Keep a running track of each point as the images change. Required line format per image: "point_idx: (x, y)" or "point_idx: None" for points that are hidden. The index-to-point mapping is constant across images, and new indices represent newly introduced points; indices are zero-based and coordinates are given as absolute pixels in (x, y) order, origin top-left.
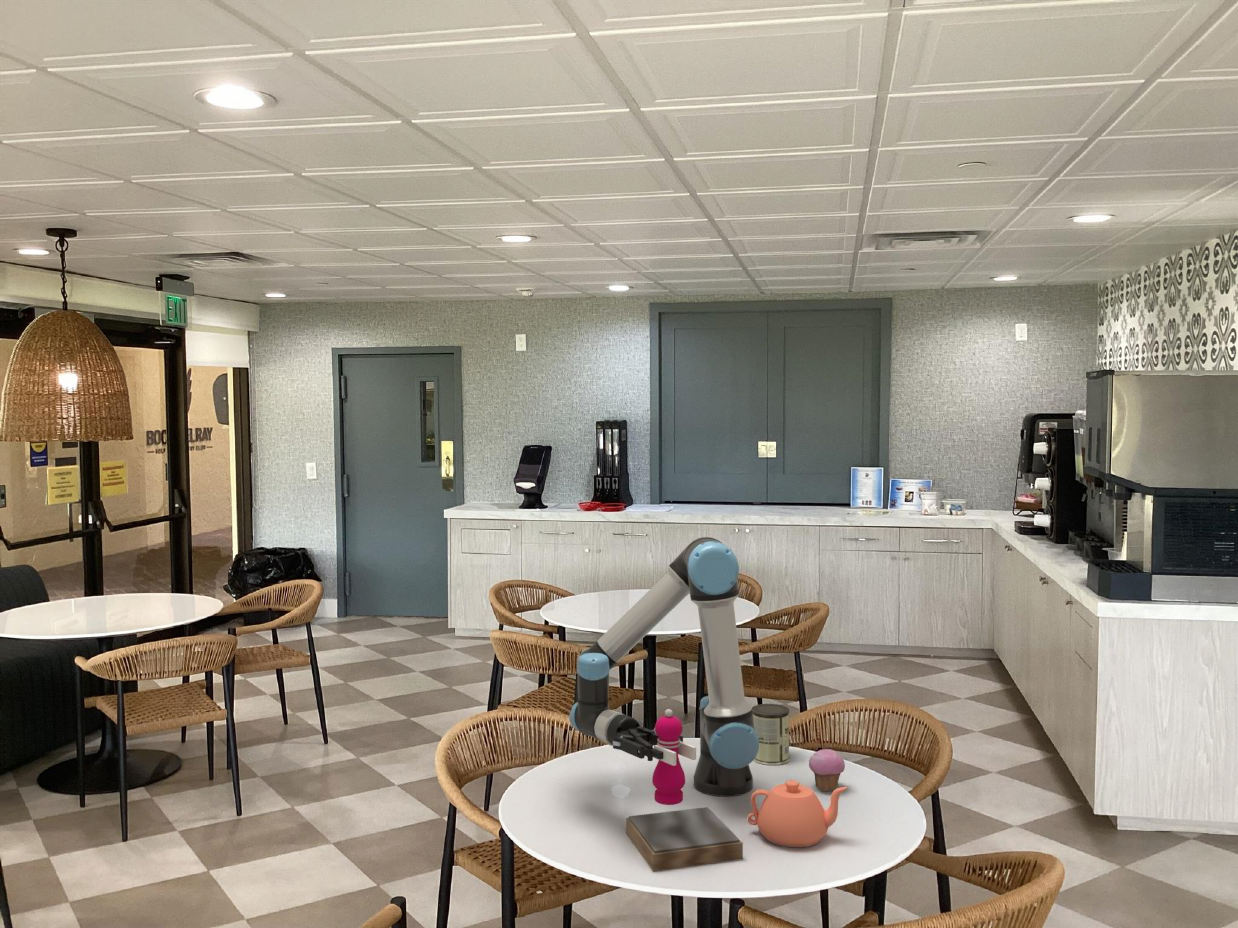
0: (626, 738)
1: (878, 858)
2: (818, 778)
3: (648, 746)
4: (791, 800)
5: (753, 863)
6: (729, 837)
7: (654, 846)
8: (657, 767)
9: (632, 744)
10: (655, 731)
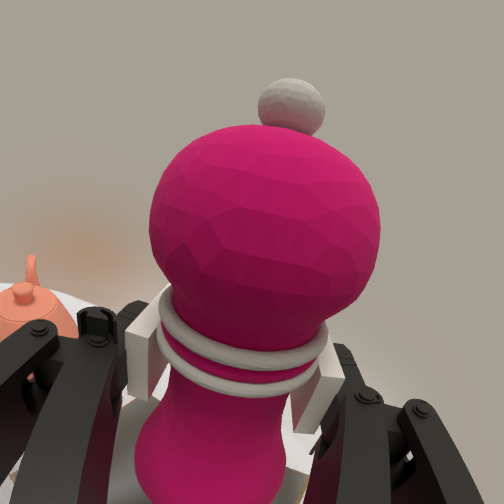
0: None
1: (76, 302)
2: None
3: (379, 395)
4: (58, 303)
5: (152, 394)
6: (146, 408)
7: (293, 489)
8: (280, 454)
9: (464, 469)
10: (364, 287)
